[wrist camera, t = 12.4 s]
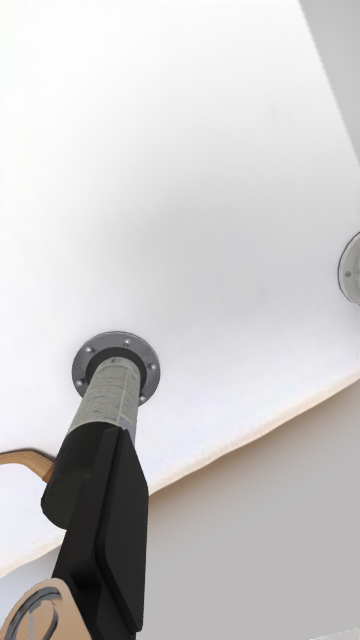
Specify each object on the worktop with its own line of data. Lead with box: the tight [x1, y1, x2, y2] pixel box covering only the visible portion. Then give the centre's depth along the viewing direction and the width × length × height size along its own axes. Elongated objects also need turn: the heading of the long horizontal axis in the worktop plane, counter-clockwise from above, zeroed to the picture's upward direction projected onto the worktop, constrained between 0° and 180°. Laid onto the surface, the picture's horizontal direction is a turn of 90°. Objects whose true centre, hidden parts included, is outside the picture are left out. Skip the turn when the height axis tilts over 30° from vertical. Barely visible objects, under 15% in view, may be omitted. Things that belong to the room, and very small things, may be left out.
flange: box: [72, 332, 160, 407], centre depth 39 cm, size 13×13×1 cm
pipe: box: [0, 451, 55, 484], centre depth 40 cm, size 8×19×6 cm, turn 84°
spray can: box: [41, 357, 140, 530], centre depth 29 cm, size 7×7×20 cm
